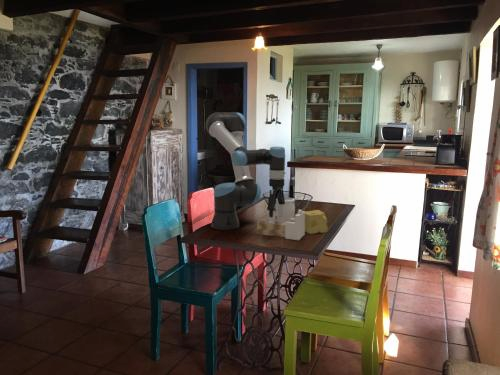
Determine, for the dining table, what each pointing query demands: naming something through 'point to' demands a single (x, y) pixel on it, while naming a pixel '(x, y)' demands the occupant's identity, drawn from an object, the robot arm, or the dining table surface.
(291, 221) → the white u-channel bracket
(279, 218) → the white cup
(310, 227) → the cheese
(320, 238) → the dining table surface
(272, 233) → the rail
